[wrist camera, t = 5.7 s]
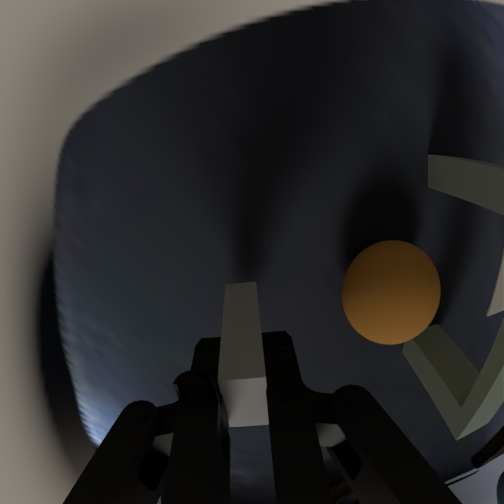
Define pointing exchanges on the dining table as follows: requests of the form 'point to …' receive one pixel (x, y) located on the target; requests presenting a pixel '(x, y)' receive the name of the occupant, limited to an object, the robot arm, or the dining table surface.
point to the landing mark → (498, 291)
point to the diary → (490, 450)
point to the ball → (391, 292)
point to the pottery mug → (341, 492)
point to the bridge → (434, 338)
